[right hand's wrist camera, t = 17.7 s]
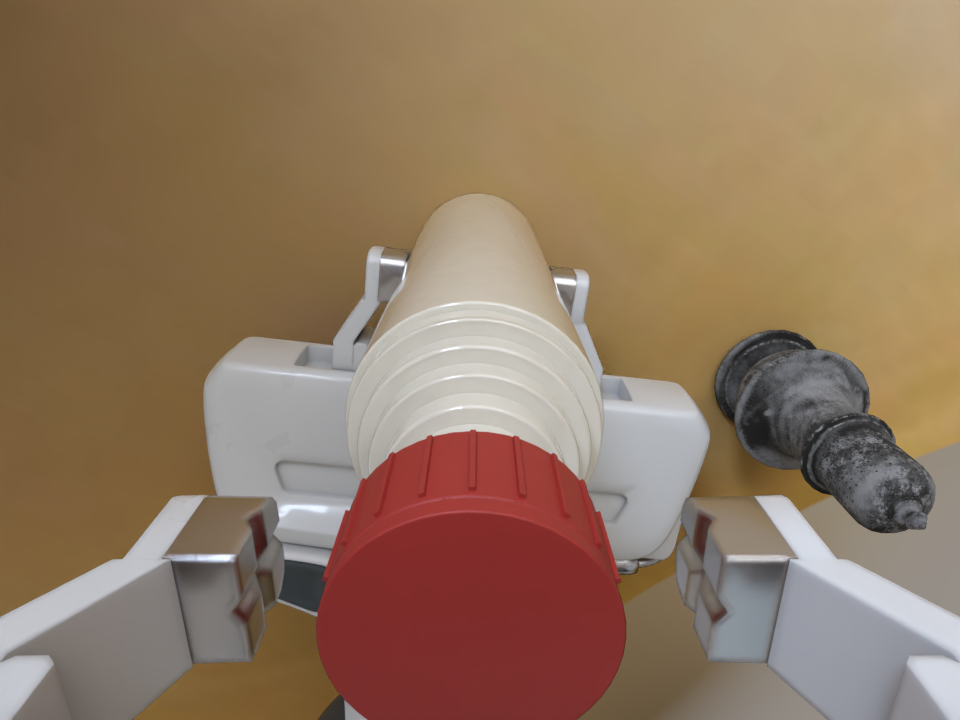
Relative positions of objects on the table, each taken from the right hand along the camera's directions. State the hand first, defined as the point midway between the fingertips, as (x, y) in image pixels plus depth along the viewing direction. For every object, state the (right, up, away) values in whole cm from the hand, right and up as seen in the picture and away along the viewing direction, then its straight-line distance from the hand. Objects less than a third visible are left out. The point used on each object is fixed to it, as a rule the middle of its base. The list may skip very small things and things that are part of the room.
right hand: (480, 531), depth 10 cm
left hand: (0, +7, +14) cm, 16 cm away
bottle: (0, +8, +19) cm, 21 cm away
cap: (0, -1, -2) cm, 2 cm away
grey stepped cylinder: (+14, +2, +22) cm, 26 cm away
